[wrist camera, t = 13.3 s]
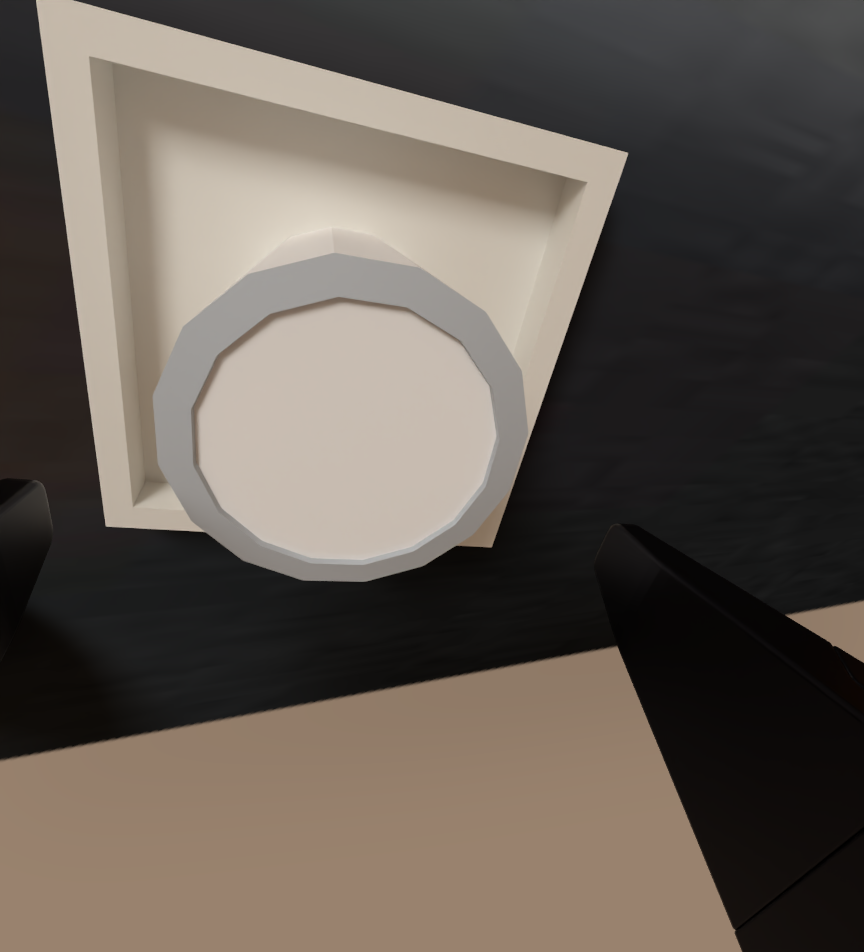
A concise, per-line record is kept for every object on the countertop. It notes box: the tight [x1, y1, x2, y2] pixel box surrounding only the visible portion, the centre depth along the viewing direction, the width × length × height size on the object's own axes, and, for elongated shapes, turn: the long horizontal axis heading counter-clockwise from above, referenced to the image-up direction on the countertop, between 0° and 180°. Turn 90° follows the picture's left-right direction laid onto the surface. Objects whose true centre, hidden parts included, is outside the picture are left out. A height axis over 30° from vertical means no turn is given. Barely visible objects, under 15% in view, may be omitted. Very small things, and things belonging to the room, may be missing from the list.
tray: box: [36, 0, 628, 547], centre depth 15 cm, size 13×13×2 cm
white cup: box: [153, 227, 528, 582], centre depth 13 cm, size 7×7×7 cm
